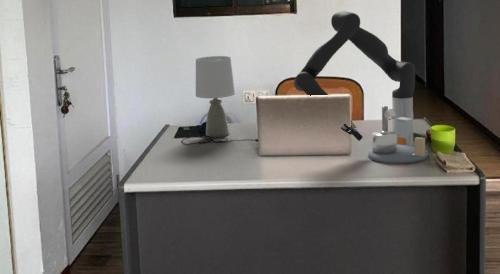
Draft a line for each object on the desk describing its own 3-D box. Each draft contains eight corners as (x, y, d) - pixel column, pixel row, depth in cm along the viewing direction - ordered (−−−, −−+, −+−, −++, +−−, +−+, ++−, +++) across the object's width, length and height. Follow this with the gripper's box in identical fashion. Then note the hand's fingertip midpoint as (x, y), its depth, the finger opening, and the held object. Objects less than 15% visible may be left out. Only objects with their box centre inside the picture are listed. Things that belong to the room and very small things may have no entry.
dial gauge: (383, 145, 330) (382, 104, 326) (403, 148, 324) (403, 106, 319) (373, 149, 324) (372, 108, 320) (393, 152, 318) (393, 110, 313)
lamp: (191, 138, 362) (186, 60, 353) (208, 129, 378) (204, 55, 370) (227, 140, 354) (222, 61, 346) (242, 131, 371) (239, 55, 363)
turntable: (387, 146, 328) (387, 126, 326) (438, 153, 313) (438, 132, 311) (356, 158, 310) (356, 137, 309) (409, 166, 295) (409, 144, 293)
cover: (380, 147, 320) (380, 127, 318) (401, 150, 313) (401, 130, 311) (367, 152, 312) (367, 132, 310) (388, 155, 306) (388, 135, 304)
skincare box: (396, 145, 330) (396, 118, 328) (402, 143, 333) (402, 116, 330) (406, 147, 326) (406, 120, 323) (413, 145, 328) (413, 118, 325)
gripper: (334, 106, 307) (365, 136, 307) (340, 100, 320) (369, 129, 319) (322, 118, 310) (352, 148, 309) (327, 112, 322) (357, 141, 322)
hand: (361, 138), depth 314 cm, fingers closed
